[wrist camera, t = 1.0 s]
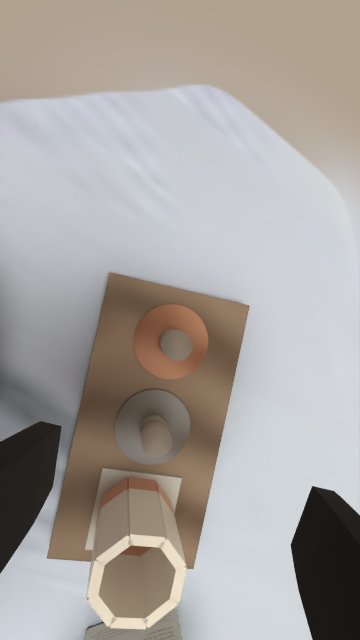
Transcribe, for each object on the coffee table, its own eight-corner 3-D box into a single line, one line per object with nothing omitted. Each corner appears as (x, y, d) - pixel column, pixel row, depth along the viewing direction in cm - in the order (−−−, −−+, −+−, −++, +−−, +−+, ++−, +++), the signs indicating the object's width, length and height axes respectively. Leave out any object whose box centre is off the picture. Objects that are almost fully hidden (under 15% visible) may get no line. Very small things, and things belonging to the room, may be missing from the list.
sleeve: (161, 550, 23) (173, 630, 18) (91, 544, 23) (79, 627, 17) (175, 482, 24) (192, 539, 18) (107, 474, 23) (100, 531, 17)
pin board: (189, 554, 26) (202, 604, 21) (51, 542, 24) (34, 596, 19) (242, 306, 26) (266, 304, 21) (110, 274, 24) (107, 266, 20)
